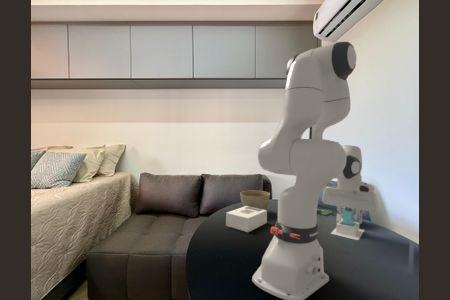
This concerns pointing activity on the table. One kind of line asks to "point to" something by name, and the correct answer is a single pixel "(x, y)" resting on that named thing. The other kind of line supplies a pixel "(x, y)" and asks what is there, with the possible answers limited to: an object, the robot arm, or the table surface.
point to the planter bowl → (255, 199)
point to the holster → (348, 230)
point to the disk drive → (324, 212)
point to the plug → (347, 216)
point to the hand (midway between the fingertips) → (348, 218)
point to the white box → (246, 218)
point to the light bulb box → (359, 215)
